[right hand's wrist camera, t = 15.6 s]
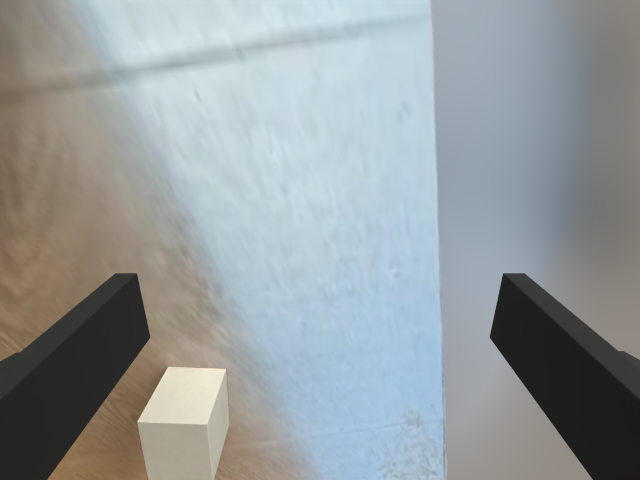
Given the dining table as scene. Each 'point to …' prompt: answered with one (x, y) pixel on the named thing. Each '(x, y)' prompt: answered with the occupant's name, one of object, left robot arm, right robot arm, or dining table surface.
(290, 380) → the dining table surface
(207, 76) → the dining table surface
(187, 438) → the block
